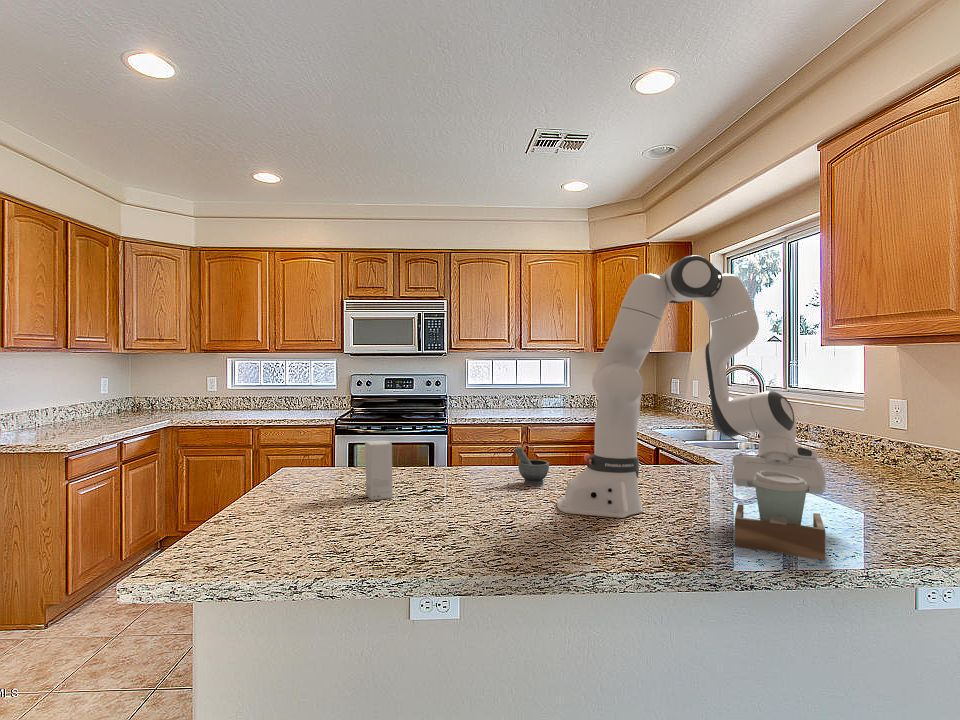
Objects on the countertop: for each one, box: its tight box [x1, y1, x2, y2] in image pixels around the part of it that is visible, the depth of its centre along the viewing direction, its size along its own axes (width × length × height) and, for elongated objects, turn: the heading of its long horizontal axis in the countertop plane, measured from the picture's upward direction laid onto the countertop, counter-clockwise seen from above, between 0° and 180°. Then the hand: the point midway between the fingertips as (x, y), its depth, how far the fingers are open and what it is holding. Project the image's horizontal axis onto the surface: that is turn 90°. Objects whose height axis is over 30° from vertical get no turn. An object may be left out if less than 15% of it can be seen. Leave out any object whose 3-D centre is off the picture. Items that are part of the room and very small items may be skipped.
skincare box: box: [364, 440, 394, 501], centre depth 157 cm, size 8×7×16 cm
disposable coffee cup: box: [753, 470, 808, 525], centre depth 119 cm, size 11×11×15 cm
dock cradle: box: [734, 503, 826, 561], centre depth 119 cm, size 13×16×7 cm
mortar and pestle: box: [514, 445, 550, 487], centre depth 174 cm, size 11×9×12 cm
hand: (777, 503), depth 132 cm, fingers closed
